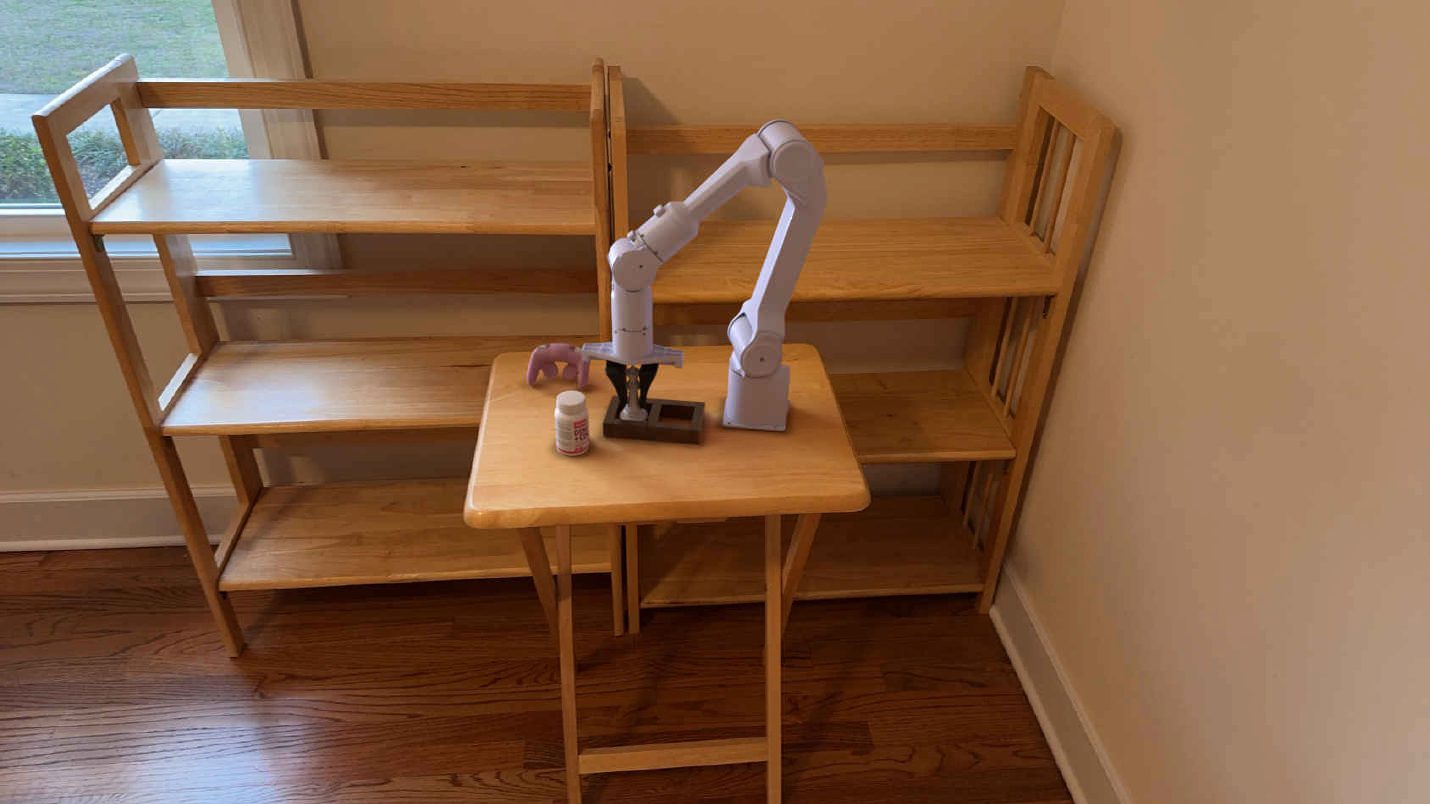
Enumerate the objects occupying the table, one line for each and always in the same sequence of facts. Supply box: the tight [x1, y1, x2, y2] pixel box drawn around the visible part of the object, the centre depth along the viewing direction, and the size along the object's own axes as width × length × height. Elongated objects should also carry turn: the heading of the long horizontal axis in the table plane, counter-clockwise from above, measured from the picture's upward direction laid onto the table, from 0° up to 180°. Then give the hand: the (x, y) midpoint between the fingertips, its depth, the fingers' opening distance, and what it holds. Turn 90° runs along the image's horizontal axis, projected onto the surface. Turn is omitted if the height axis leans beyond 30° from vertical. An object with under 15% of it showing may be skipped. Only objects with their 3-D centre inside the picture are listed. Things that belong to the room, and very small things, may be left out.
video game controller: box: [526, 342, 592, 391], centre depth 152 cm, size 10×5×7 cm, turn 84°
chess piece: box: [619, 365, 649, 422], centre depth 141 cm, size 4×4×10 cm
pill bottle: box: [554, 390, 590, 457], centre depth 136 cm, size 5×5×8 cm
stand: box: [602, 395, 706, 445], centre depth 142 cm, size 14×8×2 cm, turn 85°
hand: (633, 404), depth 141 cm, fingers closed on chess piece, 2 cm apart
